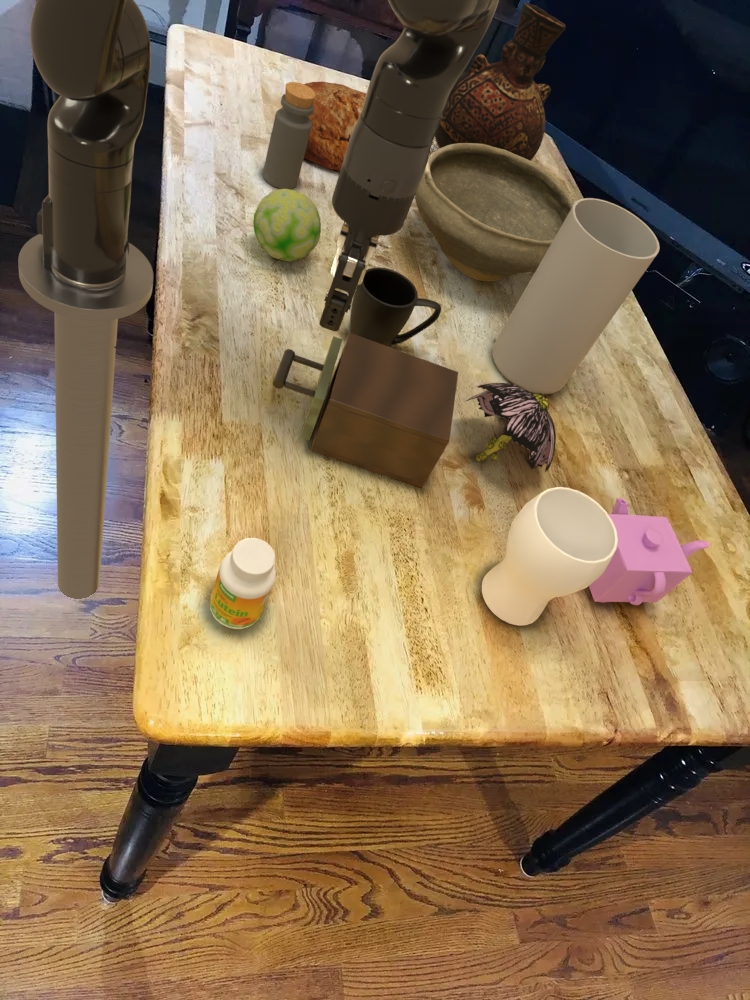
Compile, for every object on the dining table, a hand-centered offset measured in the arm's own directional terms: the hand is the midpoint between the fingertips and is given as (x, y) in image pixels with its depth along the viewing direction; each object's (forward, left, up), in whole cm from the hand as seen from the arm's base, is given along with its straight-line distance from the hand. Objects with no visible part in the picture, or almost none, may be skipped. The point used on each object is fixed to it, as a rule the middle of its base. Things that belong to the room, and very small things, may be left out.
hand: (335, 304), depth 84 cm
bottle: (-15, +49, -17) cm, 54 cm away
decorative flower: (+27, +4, -17) cm, 32 cm away
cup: (+30, -19, -17) cm, 39 cm away
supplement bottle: (0, -31, -17) cm, 35 cm away
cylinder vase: (+31, +24, -17) cm, 43 cm away
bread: (-11, +67, -17) cm, 70 cm away
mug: (+8, +17, -17) cm, 25 cm away
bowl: (+20, +47, -17) cm, 54 cm away
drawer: (+5, -1, -16) cm, 16 cm away
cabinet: (+10, -1, -16) cm, 19 cm away
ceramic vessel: (+17, +77, -17) cm, 81 cm away
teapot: (+43, -11, -17) cm, 47 cm away
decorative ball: (-10, +29, -17) cm, 35 cm away
